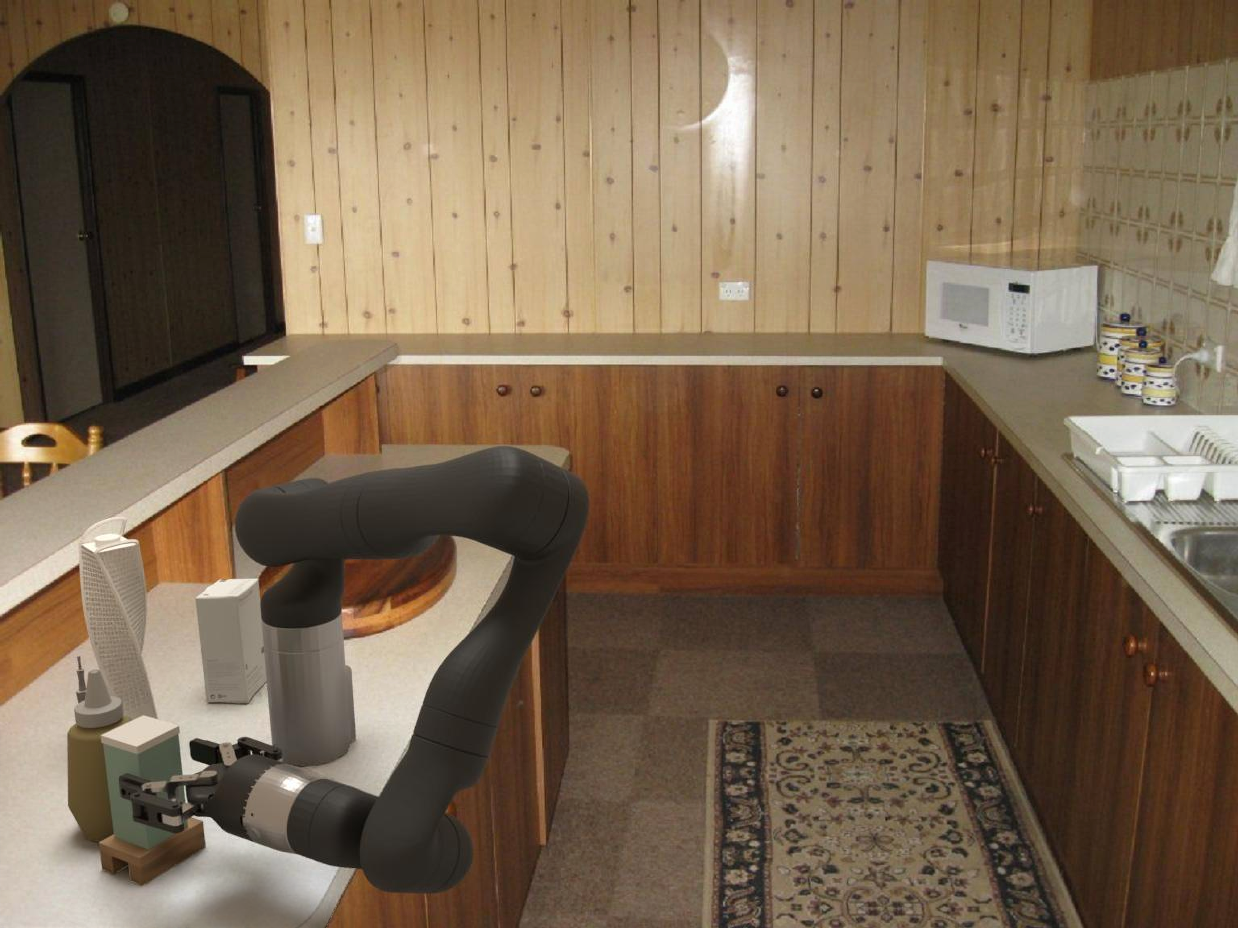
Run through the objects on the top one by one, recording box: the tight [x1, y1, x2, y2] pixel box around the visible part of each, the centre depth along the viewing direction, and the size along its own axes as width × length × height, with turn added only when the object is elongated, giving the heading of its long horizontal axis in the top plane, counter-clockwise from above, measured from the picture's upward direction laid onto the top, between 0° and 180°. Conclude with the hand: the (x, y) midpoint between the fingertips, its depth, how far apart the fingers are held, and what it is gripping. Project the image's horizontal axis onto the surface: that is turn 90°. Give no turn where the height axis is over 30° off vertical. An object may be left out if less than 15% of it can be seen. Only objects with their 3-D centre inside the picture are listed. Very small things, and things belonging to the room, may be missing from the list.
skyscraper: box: [75, 516, 159, 720], centre depth 150 cm, size 8×8×28 cm
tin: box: [101, 715, 188, 850], centre depth 125 cm, size 5×5×11 cm
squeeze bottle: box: [66, 669, 132, 842], centre depth 131 cm, size 8×8×18 cm
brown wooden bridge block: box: [98, 816, 207, 886], centre depth 127 cm, size 8×6×3 cm
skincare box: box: [195, 578, 267, 704], centre depth 165 cm, size 8×6×15 cm
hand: (158, 765), depth 123 cm, fingers open, 8 cm apart
